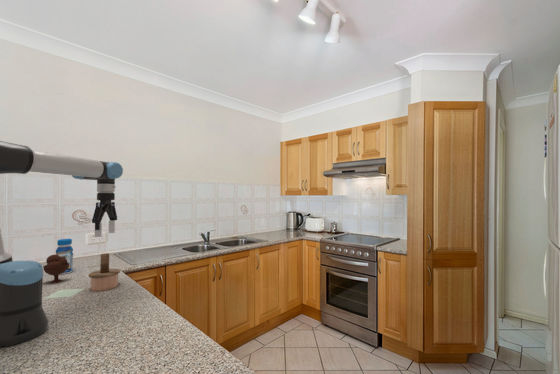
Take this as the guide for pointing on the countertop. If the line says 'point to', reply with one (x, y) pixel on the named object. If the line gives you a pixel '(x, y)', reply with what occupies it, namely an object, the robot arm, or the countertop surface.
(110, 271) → the lid
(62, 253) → the beverage bottle
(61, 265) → the brown tree figurine
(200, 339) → the countertop surface
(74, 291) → the trivet
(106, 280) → the bowl
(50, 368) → the countertop surface
